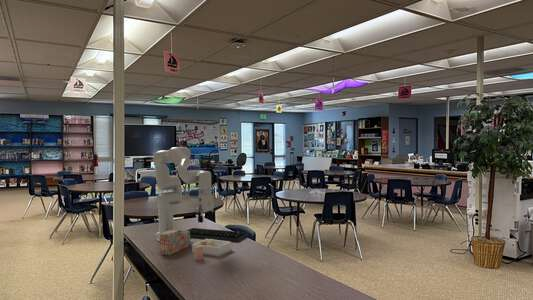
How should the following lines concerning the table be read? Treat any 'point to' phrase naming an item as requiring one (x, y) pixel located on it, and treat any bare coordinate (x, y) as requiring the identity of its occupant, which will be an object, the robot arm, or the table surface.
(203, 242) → the cube
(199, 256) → the smooth tan pebble
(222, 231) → the computer keyboard
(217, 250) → the tote
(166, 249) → the stack of blocks
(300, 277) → the table surface
